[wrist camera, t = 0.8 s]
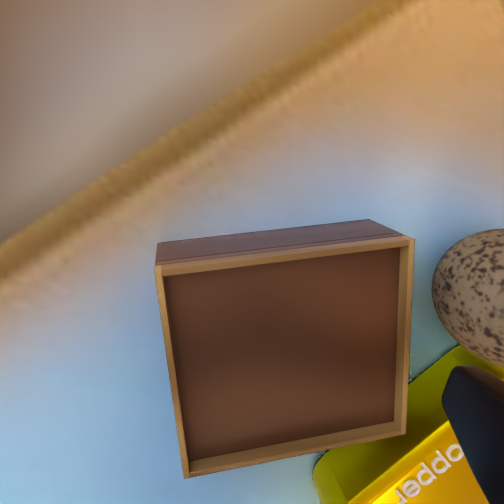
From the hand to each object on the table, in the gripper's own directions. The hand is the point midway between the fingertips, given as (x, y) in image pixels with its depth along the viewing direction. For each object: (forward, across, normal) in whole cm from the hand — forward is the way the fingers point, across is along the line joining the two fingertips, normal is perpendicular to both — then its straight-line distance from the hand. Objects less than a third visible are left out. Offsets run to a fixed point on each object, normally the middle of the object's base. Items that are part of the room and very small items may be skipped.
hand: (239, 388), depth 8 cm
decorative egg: (+15, -16, +5) cm, 23 cm away
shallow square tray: (+14, -5, +8) cm, 17 cm away
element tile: (+13, -18, +19) cm, 29 cm away
